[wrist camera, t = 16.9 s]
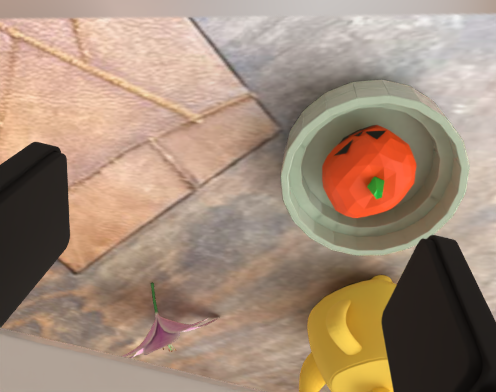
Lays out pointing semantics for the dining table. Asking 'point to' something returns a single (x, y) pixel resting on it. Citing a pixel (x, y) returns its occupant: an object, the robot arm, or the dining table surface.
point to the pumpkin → (368, 172)
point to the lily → (162, 332)
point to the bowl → (405, 127)
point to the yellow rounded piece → (349, 340)
